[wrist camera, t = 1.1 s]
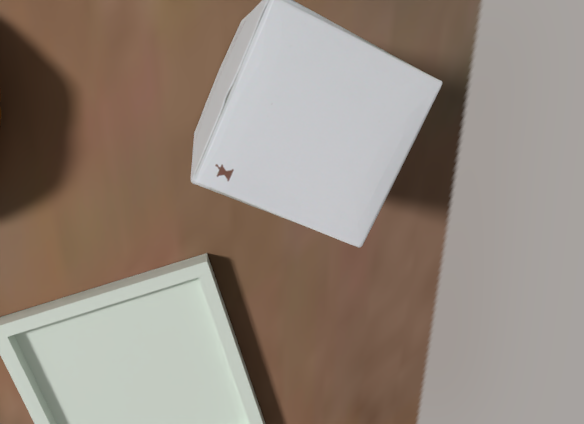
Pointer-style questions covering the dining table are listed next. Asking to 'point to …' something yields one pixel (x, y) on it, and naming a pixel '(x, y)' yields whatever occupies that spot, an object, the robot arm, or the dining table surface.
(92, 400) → the pale green square tray
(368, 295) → the dining table surface
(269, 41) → the supplement box
